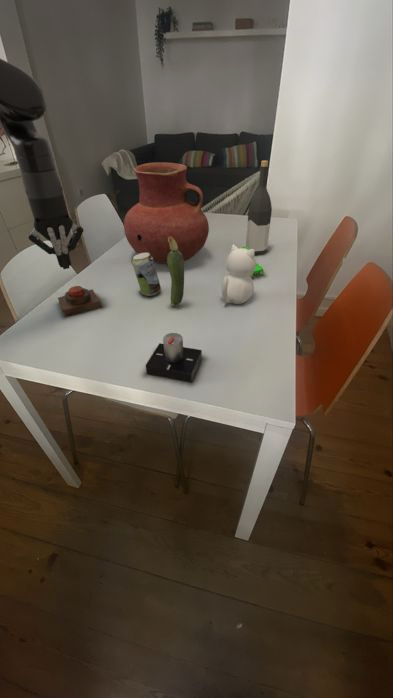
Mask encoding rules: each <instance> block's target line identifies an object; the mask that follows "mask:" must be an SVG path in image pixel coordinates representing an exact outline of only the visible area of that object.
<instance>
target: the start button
mask: <svg viewBox="0 0 393 698" xmlns="http://www.w3.org/2000/svg"><path fill="white" fill-rule="evenodd" d="M83 288H84V287H83V286H81V285H75V286H71V287H70V288H68V291H69V292H70V296H71V297H79V296H82V295H83V294H84V292H83Z"/></svg>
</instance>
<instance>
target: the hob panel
mask: <svg viewBox="0 0 393 698" xmlns="http://www.w3.org/2000/svg"><path fill="white" fill-rule="evenodd" d="M183 354H184V358H183V360H182V361H180V362H178V363H169V362H167V361H166V360H165V353H164V344H163V343H161V342H160V343H158V344H157V347H156V348H155V350H154V351H153V352H152V354H151V356H150V358H149V359H148V360H147V363H145V370H146V371H145V372H146V375H148V376H154V377H158V378H159V377H160V378H166V379H171V380H176V381H182V382H185V383H186V382H187V383H193V380H194V378H195V376H196V373H197V371H198V369H199V366H200V364H201V362H202V360H203V351H202V349H197V348H191V347H185V346H183Z"/></svg>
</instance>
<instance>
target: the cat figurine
mask: <svg viewBox="0 0 393 698" xmlns="http://www.w3.org/2000/svg"><path fill="white" fill-rule="evenodd" d="M238 248H240V249H238ZM254 254H255V251H254V249H250V250H247V249H244V248H241V247H237V245H236V244H234V243H233V244H232V246H231V247H230V254H229V255H228V256H227V259H226V268H227V271H228V272H229V273H228V274H227V275H226V276H225V277H224V278H223V279H222V282H221V297H222V300H223V301H224V303H226V304H230V303H231V304H233V305H241V304H244V303H246V302H247V301H248V300H249V299H250V298H252V296H253V293H254V289H255V286H254V285H255V284H254V281H253V279H252V278H253V277H252V278H251V277H250V276H249V275H251V274H252V273H253V272H254V270H255V268H256V263H257V261H256V258H255V255H254Z"/></svg>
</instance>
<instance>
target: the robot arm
mask: <svg viewBox="0 0 393 698" xmlns="http://www.w3.org/2000/svg"><path fill="white" fill-rule="evenodd" d="M46 111H47V99H46V96H45V93H44V91H43V89H42V87H41V86H40V84H39V83H38V81H36V80H35V79H34V78H33V77H32V76H30V75H29V74H28V73H27V72H26V71H24V70H23V69H21V68H19V67H18V66H16V65H14V64H13V63H10V62H8V61H6V60H4V59H3V58H0V125H1V127H2V129H3V131H4V134H5V135H6V137H7V139H8V140H9V142H10V144H11V145H12V148H13V152H14V155H15V159H16V162H17V165H18V169H19V171H20V175H21V181H22V185H23V189H24V192H25V195H26V198H27V201H28V204H29V207H30V211H31V214H32V217H33V220H34V221H33V229H32V230H31V232H28V233H27V238H28V240H29V241H30V242H32V243H33V244H35V246H37V247H39V249H41V250H43V251H44V252H45V253H47V254H48V255H55V256H56V260H57V264H58V265H59V267H60V268H62V269H63V270H68V269H70V266H71V265H72V261H71V258H70V252H71V251H74V250H75V249H76V247H77V245H78V243H79V242H80V239H81V237H82V235H83V233H84V228H83V227H82V226H81V225H80V224H77V223H74V222H73V219H72V218H71V217H70V215H69V210H68V207H67V203H66V199H65V195H64V189H63V186H62V182H61V179H60V177H59V174H58V171H57V169H56V164H55V160H54V156H53V153H52V152H53V151H52V148H51V145H50V143H49V141H48V139H47V138H45V137H44V136H42V135H40V134H39V133H38V131H37V128H36V125H35V123H34V122H35V121H38V120H40V119H41V118H43V116H44V115H45V114H46ZM70 232H72V235H71V237H70V239H69V240H68V241H67V238H68V237H69V235H70ZM40 235H41V236H42V237H44V238H45V239H46V240H47V241H50V243H51V245H52V246H50V245H48V244H47V243H46V242H44V241H43V240H41V236H40ZM58 241H59V243H58ZM59 245H60V246H59ZM71 267H72V266H71Z"/></svg>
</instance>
